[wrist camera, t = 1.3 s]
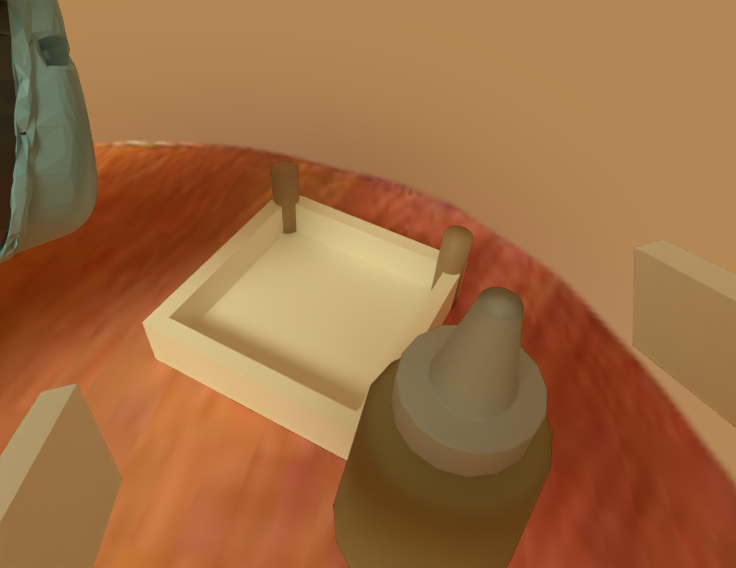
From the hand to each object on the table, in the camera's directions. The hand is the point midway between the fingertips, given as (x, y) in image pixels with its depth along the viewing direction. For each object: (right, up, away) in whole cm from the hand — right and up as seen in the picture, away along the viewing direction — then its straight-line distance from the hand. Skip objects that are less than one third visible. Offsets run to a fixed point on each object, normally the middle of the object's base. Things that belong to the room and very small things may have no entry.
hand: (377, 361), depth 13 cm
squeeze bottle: (+2, -11, +15) cm, 18 cm away
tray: (-4, -1, +23) cm, 23 cm away
